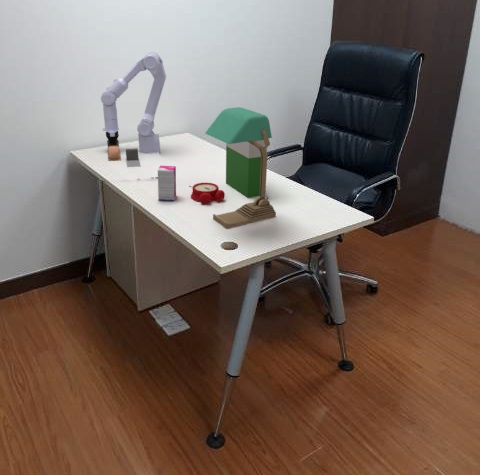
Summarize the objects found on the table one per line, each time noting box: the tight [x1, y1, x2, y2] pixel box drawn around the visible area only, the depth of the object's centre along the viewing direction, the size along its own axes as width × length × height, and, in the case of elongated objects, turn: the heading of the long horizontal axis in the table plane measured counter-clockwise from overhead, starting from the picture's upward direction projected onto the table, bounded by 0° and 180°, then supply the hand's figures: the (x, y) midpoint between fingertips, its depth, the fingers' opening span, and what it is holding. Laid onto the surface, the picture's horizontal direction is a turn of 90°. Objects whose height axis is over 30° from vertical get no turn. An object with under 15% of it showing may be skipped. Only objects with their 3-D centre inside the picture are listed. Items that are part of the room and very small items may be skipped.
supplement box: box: [157, 165, 177, 202], centre depth 175 cm, size 6×6×12 cm
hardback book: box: [225, 139, 268, 199], centre depth 183 cm, size 18×7×24 cm, turn 28°
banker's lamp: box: [204, 107, 277, 229], centre depth 155 cm, size 16×21×35 cm
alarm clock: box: [188, 182, 226, 205], centre depth 177 cm, size 11×6×15 cm
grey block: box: [125, 148, 141, 168], centre depth 210 cm, size 6×12×6 cm, turn 15°
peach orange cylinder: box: [106, 139, 122, 162], centre depth 219 cm, size 6×18×6 cm, turn 15°
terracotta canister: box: [107, 145, 121, 160], centre depth 214 cm, size 4×4×5 cm
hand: (113, 148), depth 226 cm, fingers closed on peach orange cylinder, 2 cm apart
